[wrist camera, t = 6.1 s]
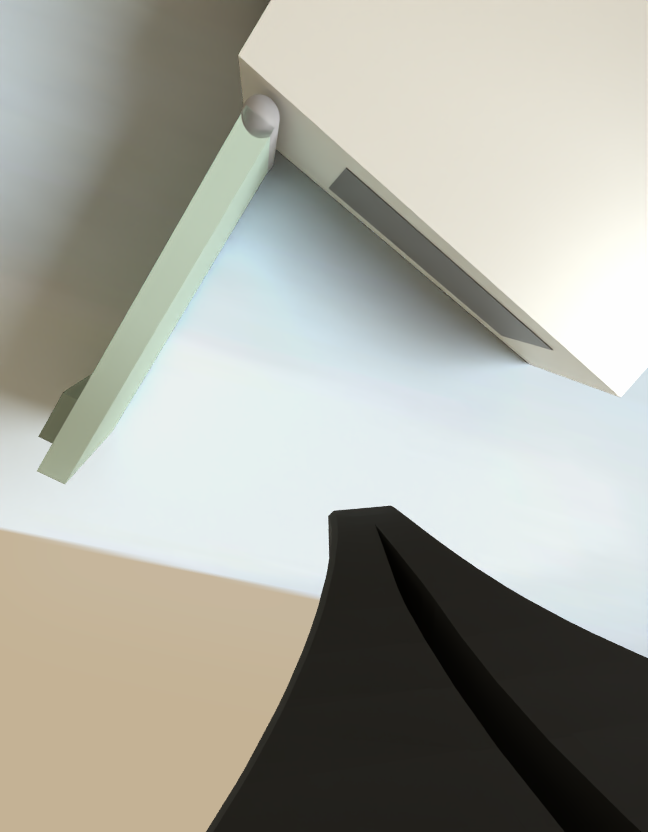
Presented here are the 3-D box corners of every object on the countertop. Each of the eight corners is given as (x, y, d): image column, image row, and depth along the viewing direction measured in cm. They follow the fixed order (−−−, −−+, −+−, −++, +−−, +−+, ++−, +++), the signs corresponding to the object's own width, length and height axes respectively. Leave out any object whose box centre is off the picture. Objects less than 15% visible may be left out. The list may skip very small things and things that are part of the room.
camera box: (398, -247, 12) (499, -626, 7) (708, 149, 17) (910, 97, 12) (201, 87, 14) (167, -19, 9) (529, 365, 19) (635, 403, 13)
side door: (279, 155, 15) (287, 112, 11) (113, 431, 17) (66, 485, 13) (241, 125, 14) (233, 67, 10) (76, 412, 17) (15, 460, 12)
